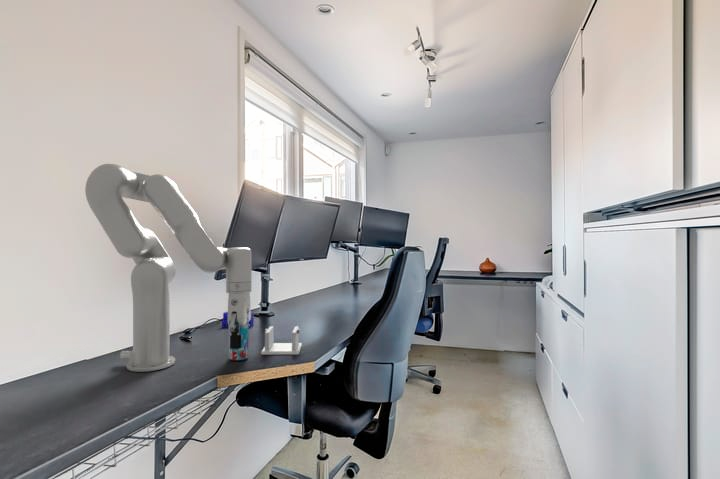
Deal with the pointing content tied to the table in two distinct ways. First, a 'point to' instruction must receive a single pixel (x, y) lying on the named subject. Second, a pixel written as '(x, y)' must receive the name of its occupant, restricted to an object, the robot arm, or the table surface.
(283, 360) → the table surface
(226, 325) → the cable clip
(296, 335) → the clip holder
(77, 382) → the table surface
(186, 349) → the table surface
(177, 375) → the table surface
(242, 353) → the beverage can
